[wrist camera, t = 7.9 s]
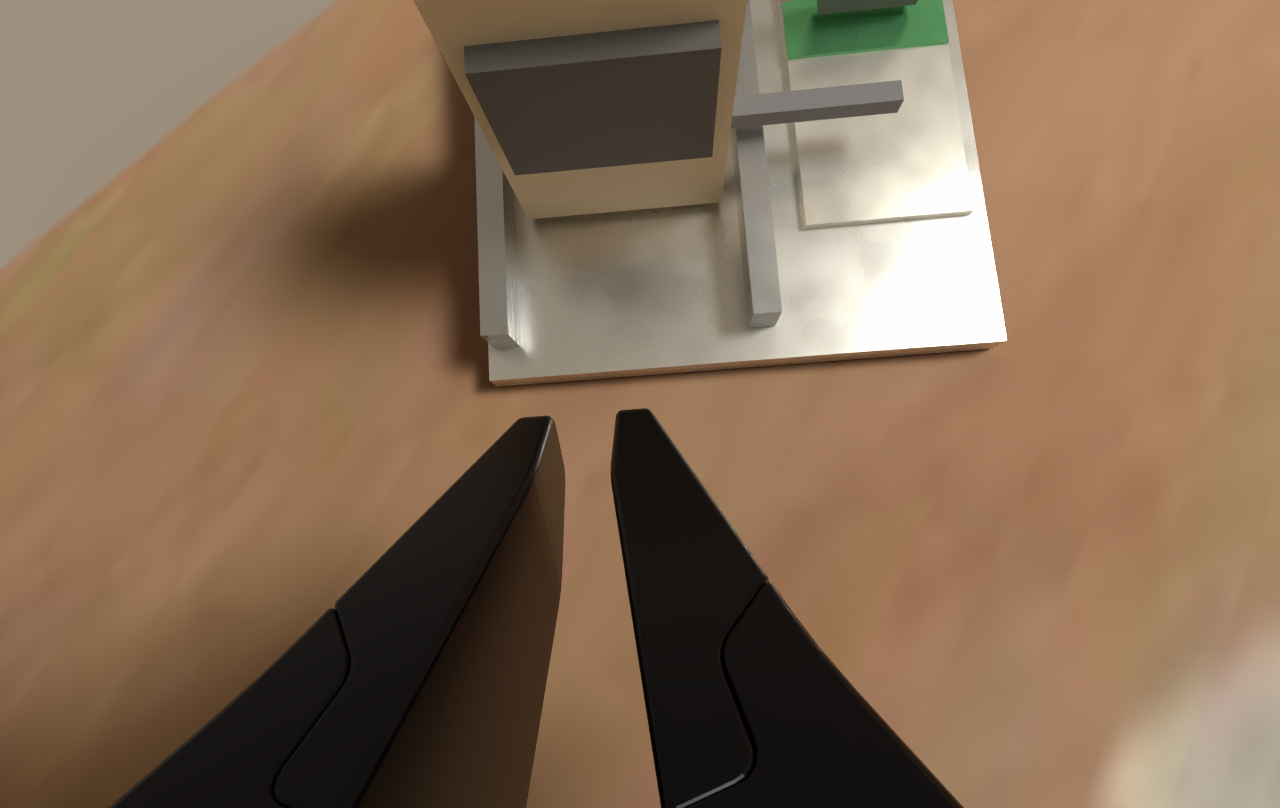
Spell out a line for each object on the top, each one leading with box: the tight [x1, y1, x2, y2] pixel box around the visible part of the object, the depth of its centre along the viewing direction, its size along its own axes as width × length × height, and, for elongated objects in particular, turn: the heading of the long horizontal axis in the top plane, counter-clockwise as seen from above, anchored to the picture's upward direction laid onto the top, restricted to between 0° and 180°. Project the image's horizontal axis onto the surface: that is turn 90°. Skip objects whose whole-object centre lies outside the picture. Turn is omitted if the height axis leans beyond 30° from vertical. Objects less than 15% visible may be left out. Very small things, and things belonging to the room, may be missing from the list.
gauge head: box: [414, 0, 904, 219], centre depth 15 cm, size 4×11×11 cm, turn 94°
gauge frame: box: [474, 0, 1007, 387], centre depth 21 cm, size 13×16×2 cm
